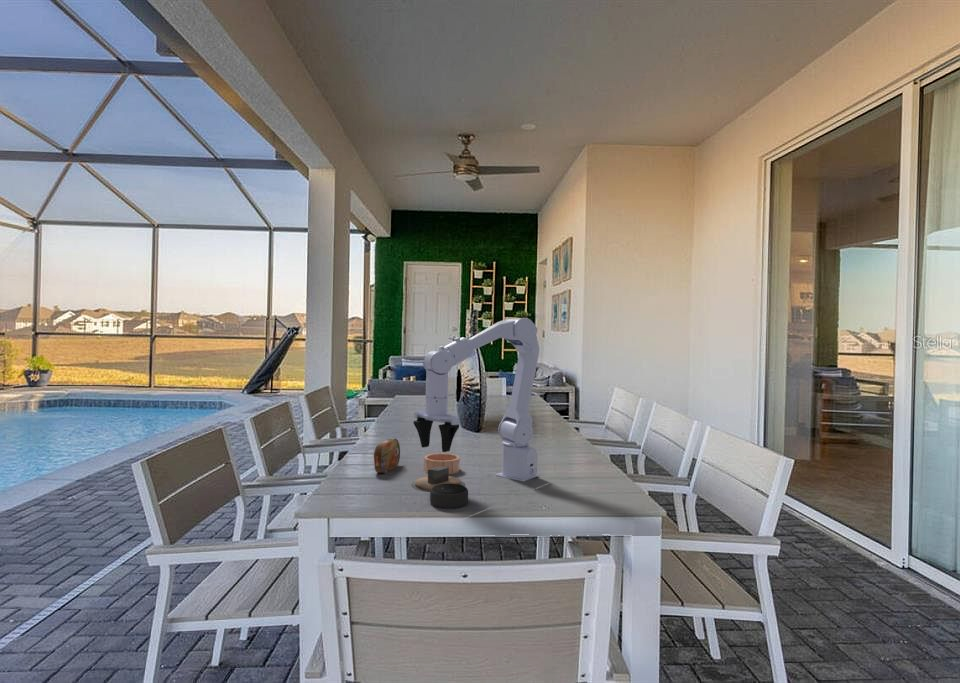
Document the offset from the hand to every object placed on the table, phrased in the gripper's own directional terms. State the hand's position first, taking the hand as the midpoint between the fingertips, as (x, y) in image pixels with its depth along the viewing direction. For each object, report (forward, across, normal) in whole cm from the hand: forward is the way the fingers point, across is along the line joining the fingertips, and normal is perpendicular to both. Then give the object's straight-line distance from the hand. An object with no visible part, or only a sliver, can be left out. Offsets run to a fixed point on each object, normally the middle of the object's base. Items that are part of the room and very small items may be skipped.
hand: (435, 449), depth 149 cm
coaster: (+9, +1, 0) cm, 9 cm away
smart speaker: (+10, +14, -9) cm, 19 cm away
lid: (+9, +1, 0) cm, 9 cm away
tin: (+10, -21, +2) cm, 23 cm away
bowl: (+9, -9, +12) cm, 17 cm away
